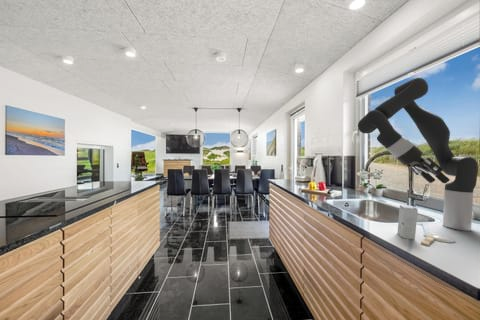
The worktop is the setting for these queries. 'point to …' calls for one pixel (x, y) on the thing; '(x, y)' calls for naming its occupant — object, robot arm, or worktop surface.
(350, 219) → the worktop surface
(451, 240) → the white shallow dome
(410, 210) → the skincare box
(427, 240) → the wooden slat
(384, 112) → the robot arm
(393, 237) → the worktop surface
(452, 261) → the worktop surface
